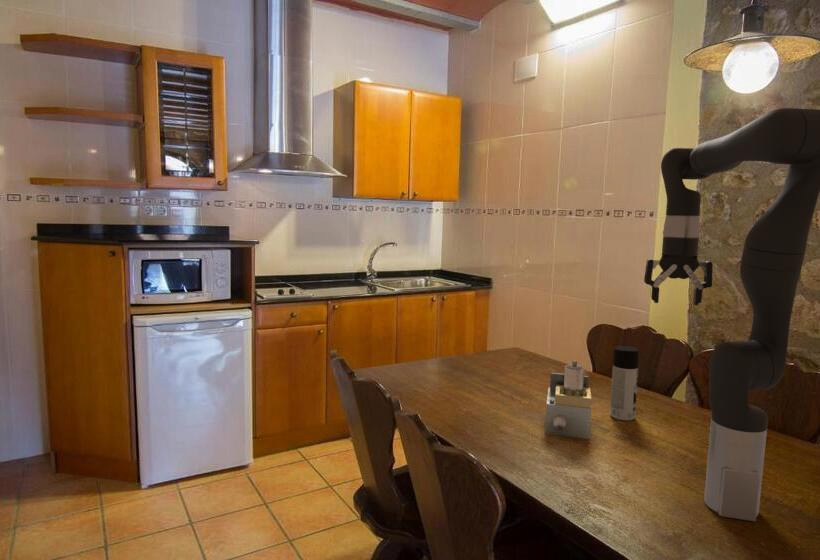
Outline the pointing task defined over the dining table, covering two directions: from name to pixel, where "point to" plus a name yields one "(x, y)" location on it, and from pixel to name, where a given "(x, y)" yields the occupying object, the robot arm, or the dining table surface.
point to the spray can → (624, 383)
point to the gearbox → (567, 410)
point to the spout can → (573, 379)
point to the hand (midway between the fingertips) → (675, 303)
